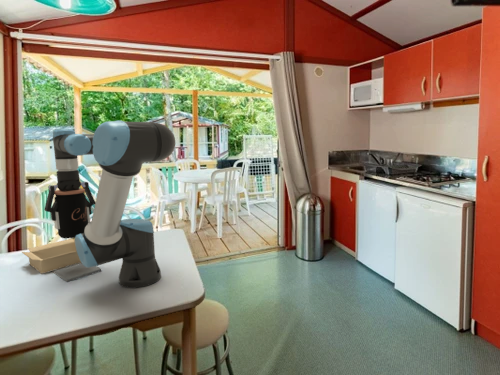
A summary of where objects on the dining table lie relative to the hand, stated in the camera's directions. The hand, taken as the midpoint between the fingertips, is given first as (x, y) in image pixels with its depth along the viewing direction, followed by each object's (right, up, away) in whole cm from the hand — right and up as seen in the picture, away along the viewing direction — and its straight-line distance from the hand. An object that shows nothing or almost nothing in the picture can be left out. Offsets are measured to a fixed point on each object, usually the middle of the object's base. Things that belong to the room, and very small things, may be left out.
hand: (73, 225), depth 127 cm
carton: (-13, -18, +14) cm, 26 cm away
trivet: (0, -19, +3) cm, 19 cm away
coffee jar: (0, -4, +1) cm, 4 cm away
